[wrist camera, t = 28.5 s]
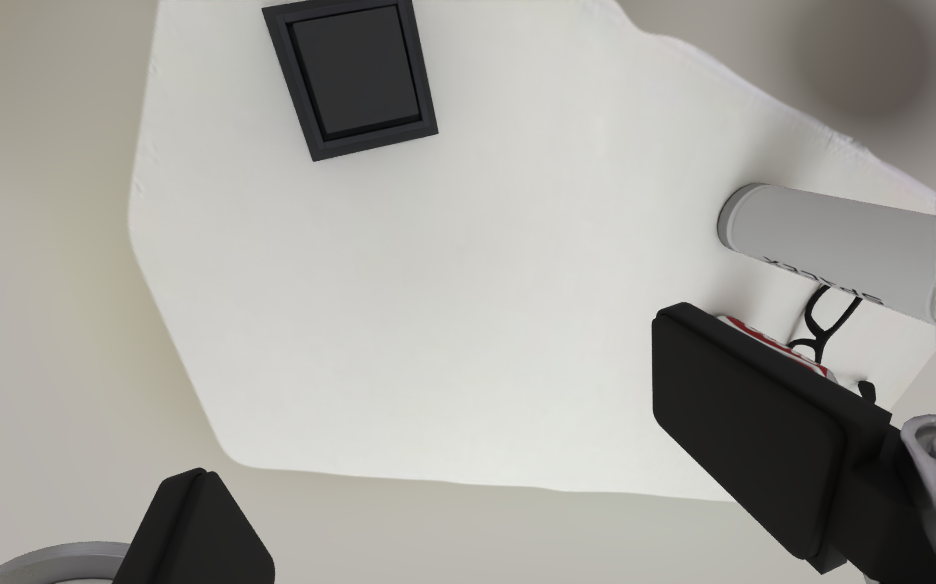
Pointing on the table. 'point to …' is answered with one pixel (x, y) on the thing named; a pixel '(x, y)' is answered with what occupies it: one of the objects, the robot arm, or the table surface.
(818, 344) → the glasses
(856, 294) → the travel mug
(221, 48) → the table surface
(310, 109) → the base pad
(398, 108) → the black cube
